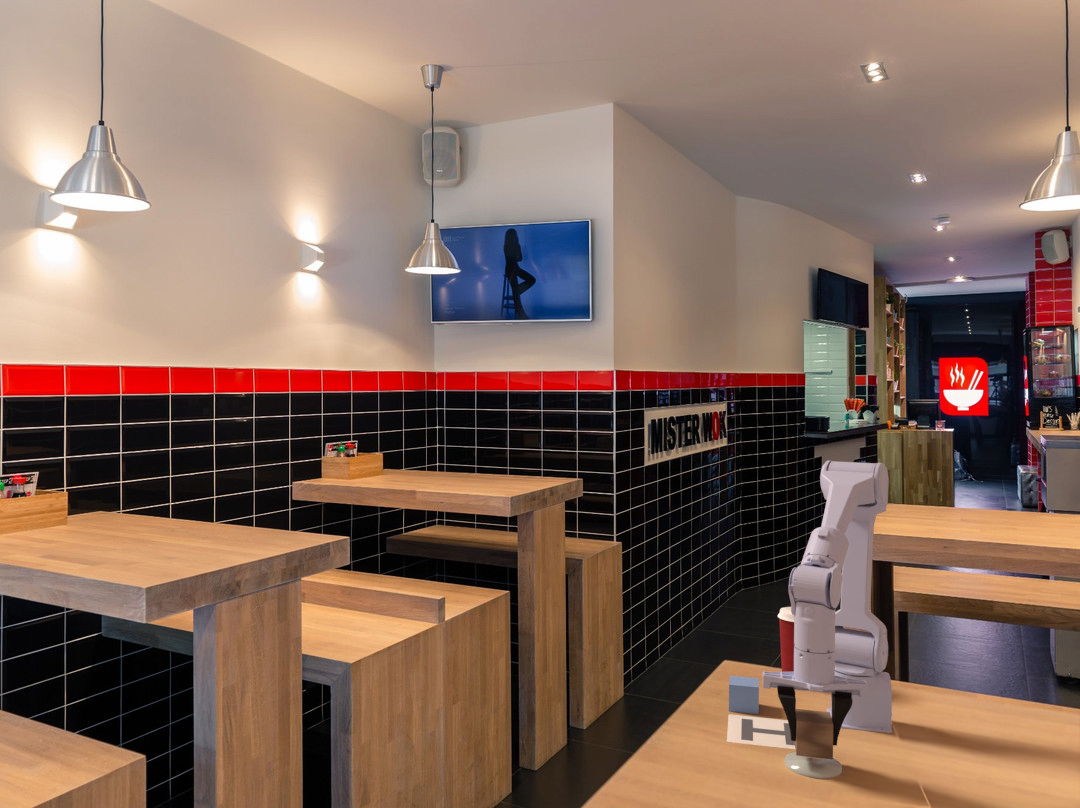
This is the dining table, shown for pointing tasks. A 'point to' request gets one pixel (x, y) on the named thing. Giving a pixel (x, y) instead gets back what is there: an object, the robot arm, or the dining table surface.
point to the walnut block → (814, 734)
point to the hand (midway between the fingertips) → (813, 740)
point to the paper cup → (787, 639)
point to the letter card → (759, 731)
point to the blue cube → (744, 694)
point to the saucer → (813, 766)
